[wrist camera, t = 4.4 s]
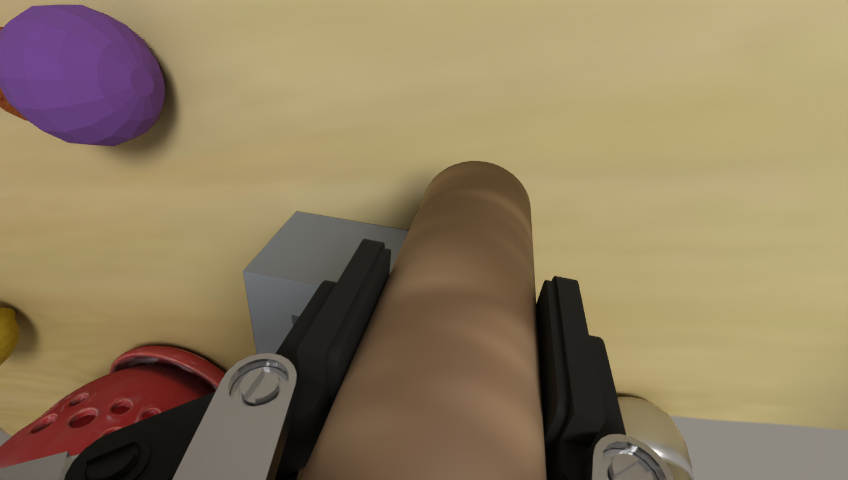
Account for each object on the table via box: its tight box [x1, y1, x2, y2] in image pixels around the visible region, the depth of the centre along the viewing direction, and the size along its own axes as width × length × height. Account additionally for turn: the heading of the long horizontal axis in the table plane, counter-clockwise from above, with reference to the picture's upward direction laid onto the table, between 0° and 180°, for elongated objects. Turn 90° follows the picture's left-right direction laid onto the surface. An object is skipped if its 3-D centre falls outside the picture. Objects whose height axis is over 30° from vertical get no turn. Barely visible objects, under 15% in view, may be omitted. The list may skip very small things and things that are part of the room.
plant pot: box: [0, 346, 225, 468], centre depth 30 cm, size 13×13×12 cm
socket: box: [243, 211, 408, 354], centre depth 24 cm, size 10×10×6 cm
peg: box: [300, 161, 547, 480], centre depth 10 cm, size 4×4×14 cm
